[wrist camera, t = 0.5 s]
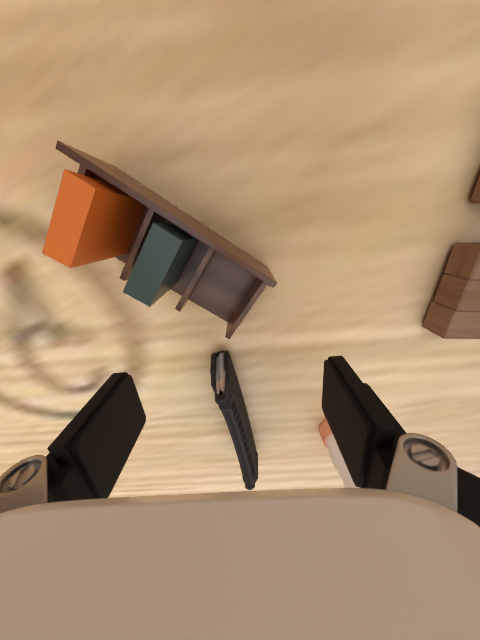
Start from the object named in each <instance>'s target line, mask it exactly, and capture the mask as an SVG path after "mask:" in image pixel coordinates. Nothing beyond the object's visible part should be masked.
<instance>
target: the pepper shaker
mask: <svg viewBox="0 0 480 640" xmlns="http://www.w3.org/2000/svg"><path fill="white" fill-rule="evenodd" d="M319 432H320V435H321V437H322V440H323V443H324V445H325V447H326V448H327V449H328V451H329V454H330V457H331V460H332V462H333V464H334V466H335V468H336V469H337V471H338V473H339V475H340V477H341V478H342V481H343V483H344V486H345V488H360V487H356V486H355V484H354V482H353V480H352V478H351V475H350V473H349V471H348V468H347V466H346V464H345V461H344V459H343V457H342V454H341V452H340V450H339V447H338V445H337V443H336V440H335V438H334V436H333V433H332V431H331V429H330V426H329V424H328V422H327V419H326V420H324V421H323V422H322V423H321V425H320V427H319Z"/></svg>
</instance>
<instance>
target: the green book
mask: <svg viewBox="0 0 480 640" xmlns="http://www.w3.org/2000/svg"><path fill="white" fill-rule="evenodd" d="M198 242H199V240H198V239H196V238H195V237H193V236H191V235H190V234H188V233H187V232H185V231H184V230H182V229H180V228H179V227H177V226H176V225H174V224H173V223H153V224H152V226H151V228H150V231H149V233H148V235H147V238H146V240H145V242H144V244H143V247H142V249H141V251H140V254H139V256H138V258H137V261H136V263H135V265H134V267H133V270H132V272H131V274H130V277H129V279H128V281H127V284H126V286H125V288H124V291H123V293H125V295H127V296H129V297H131V298H133V299H135V300H136V301H138V302H140V303H142V304H144V305H146V306H147V307H150V306H151V305H152V304H154V303H155V302H156V301H157V300H158V299H159V298H160V297H162V296H163V295H164V294H165V293H166V292H167V291H168V290H170V289H171V288H172V287H173V286H174V285H175V284H176V283H177V282H178V280H179V278H180V276H181V274H182V272H183V270H184V268H185V267H186V265H187V263H188V261H189V259H190V257H191V255H192V253H193V251H194V249H195V248H196V246H197V244H198Z"/></svg>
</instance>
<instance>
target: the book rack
mask: <svg viewBox="0 0 480 640" xmlns="http://www.w3.org/2000/svg"><path fill="white" fill-rule="evenodd" d="M56 149H57V150H59V151H60V152H62V153H64V154H65V155H67V156H68V157H70V158H71V159H73V160H74V161H76V162H78V163H79V164H80V167H79V170H78V174H81V175H85V176H88V177H91V178H94V179H97V180H101V181H104V182H107V183H110V184H112V185H113V186H115V187H117V188H118V189H120V190H121V191H123V192H124V193H126V194H127V195H129V196H131V197H132V198H134V199H135V200H137V201H138V202H140V203H141V204H143V205H145V206H146V208H145V210H144V213H143V215H142V218H141V220H140V223H139V225H138V227H137V230H136V232H135V235H134V237H133V240H132V242H131V244H130V247H129V249H128V252H127V254H125V255H121V256H117V257H116V258H118V259H119V260H121V261H123V262H125V263H126V264H125V266H124V269H123V271H122V273H121V276H120V279H122V280H124V281H125V280H128V279H129V277H130V274H131V272H132V270H133V267H134V265H135V263H136V261H137V258H138V256H139V254H140V251H141V249H142V247H143V244H144V242H145V240H146V238H147V235H148V233H149V231H150V228H151V226H152V224H153V223H173V224H174V225H176V226H177V227H179V228H180V229H182V230H184V231H185V232H187V233H188V234H190V235H191V236H193V237H195V238H196V239H198V240H199V242H198V244H197V246H196V248H195V249H194V251H193V253H192V255H191V257H190V259H189V261H188V263H187V265H186V267H185V268H184V270H183V272H182V274H181V276H180V278H179V280H178V282H177V283H176V284H175V285H174V286H173V287H172V288H171V289H172V290H173V291H175V292H177V293H178V294H180V295H182V297H181V299H180V301H179V303H178V305H177V306H176V308H175V309H176V310H178V311H181V309H182V308H183V307H184V305H185V304H186V302H187V301H188V300H191V301H192V302H194V303H196V304H198V305H199V306H201V307H203V308H205V309H206V310H208V311H210V312H212V313H213V314H215V315H217V316H218V317H220V318H222V319H224V320H225V321H227V322H228V323H227V329H226V336H225V337H226V338H228V339H230V338H231V336H232V335H233V333H234V332H235V330H236V329H237V327H238V326H239V325H240V323H241V322H242V320H243V319H244V317H245V316H246V314H247V313H248V312H249V310H250V309H251V307H252V306H253V304H254V303H255V301H256V300H257V299H258V297H259V296H260V294H261V293H262V291H263V290H264V288H265V287H266V286H267V284H268V285H269V286H271V287H273V288H274V286H275V285H276V284H277V282H276V280H275V279H274V277H273V275H272V274H271V272H270V270H269V269H268V267H266V266H265V265H263V264H262V263H260V262H259V261H257V260H256V259H254V258H253V257H251V256H250V255H248V254H247V253H245V252H244V251H242V250H241V249H239V248H238V247H236V246H235V245H233V244H232V243H230V242H228V241H227V240H225V239H224V238H222V237H221V236H219V235H218V234H216V233H215V232H213V231H212V230H210V229H209V228H207V227H206V226H204V225H203V224H201V223H200V222H198V221H197V220H195V219H194V218H192V217H191V216H189V215H188V214H186V213H185V212H183V211H182V210H180V209H178V208H177V207H175V206H174V205H172V204H171V203H169V202H168V201H166V200H165V199H163V198H162V197H160V196H159V195H157V194H156V193H154V192H153V191H151V190H150V189H148V188H147V187H145V186H144V185H142V184H141V183H139V182H138V181H136V180H135V179H133V178H131V177H130V176H128V175H127V174H125V173H124V172H122V171H121V170H119V169H118V168H116V167H115V166H113V165H111V164H108V163H106V162H104V161H102V160H100V159H97V158H95V157H93V156H91V155H89V154H86V153H84V152H82V151H80V150H78V149H75V148H73V147H71V146H69V145H67V144H64V143H62V142H60V141H57V144H56Z"/></svg>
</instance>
